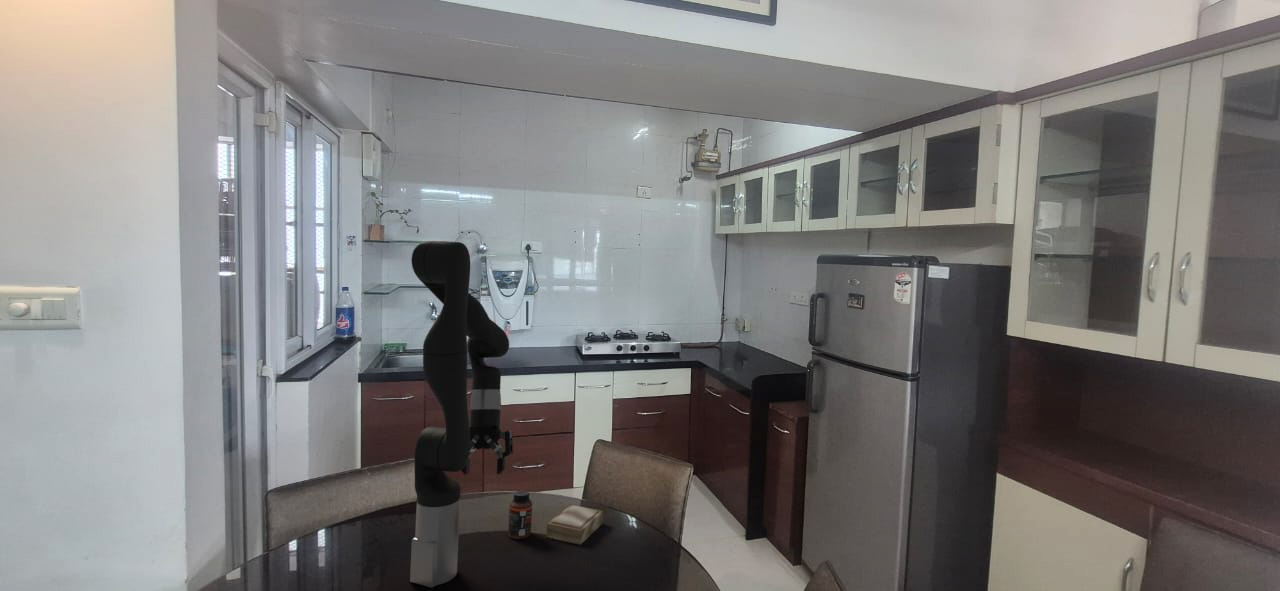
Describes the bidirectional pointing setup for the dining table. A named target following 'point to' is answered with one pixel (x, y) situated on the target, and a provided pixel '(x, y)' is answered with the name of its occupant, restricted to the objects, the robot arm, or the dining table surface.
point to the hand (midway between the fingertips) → (483, 474)
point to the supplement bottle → (520, 515)
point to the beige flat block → (574, 524)
